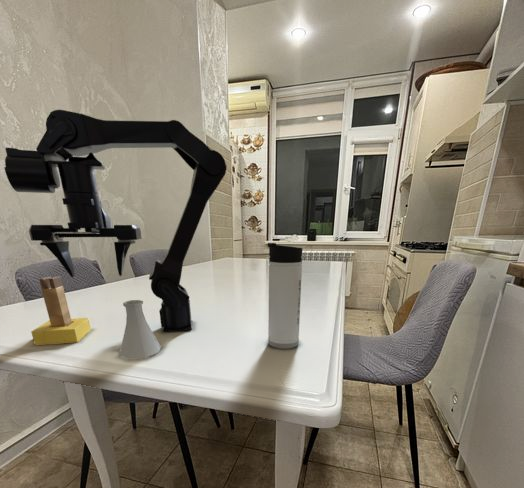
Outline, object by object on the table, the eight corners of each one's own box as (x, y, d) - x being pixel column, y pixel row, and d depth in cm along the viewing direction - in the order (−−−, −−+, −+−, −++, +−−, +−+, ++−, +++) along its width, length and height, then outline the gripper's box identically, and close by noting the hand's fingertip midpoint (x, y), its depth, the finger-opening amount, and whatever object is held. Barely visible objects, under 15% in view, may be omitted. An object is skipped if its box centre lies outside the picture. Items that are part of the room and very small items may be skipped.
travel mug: (262, 340, 62) (261, 242, 55) (289, 336, 64) (292, 241, 57) (274, 351, 56) (276, 244, 49) (304, 346, 59) (309, 243, 52)
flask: (147, 362, 52) (139, 308, 48) (111, 358, 53) (101, 305, 50) (167, 346, 59) (161, 298, 55) (135, 344, 60) (127, 296, 56)
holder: (91, 329, 68) (88, 317, 67) (77, 342, 61) (74, 329, 60) (53, 332, 67) (49, 319, 66) (34, 345, 59) (30, 331, 58)
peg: (75, 334, 65) (60, 276, 61) (68, 339, 62) (53, 278, 58) (61, 335, 65) (46, 276, 60) (54, 339, 62) (38, 279, 58)
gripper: (141, 198, 64) (150, 269, 70) (47, 197, 61) (64, 272, 66) (129, 193, 54) (141, 277, 60) (16, 191, 51) (40, 280, 56)
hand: (97, 276), depth 61 cm, fingers open, 9 cm apart
